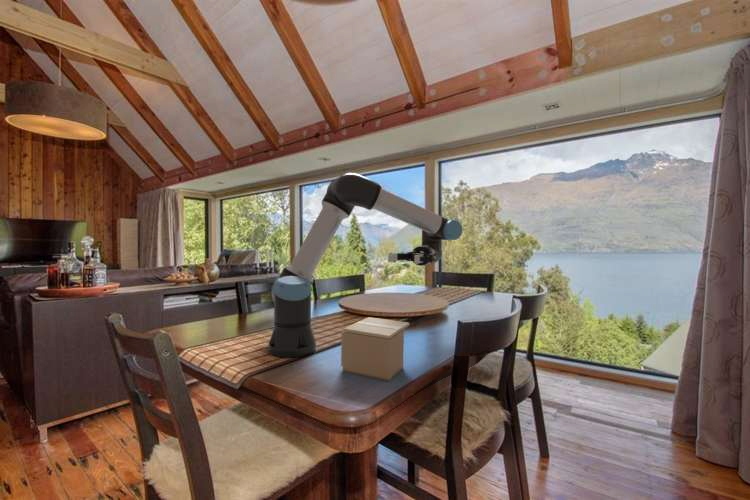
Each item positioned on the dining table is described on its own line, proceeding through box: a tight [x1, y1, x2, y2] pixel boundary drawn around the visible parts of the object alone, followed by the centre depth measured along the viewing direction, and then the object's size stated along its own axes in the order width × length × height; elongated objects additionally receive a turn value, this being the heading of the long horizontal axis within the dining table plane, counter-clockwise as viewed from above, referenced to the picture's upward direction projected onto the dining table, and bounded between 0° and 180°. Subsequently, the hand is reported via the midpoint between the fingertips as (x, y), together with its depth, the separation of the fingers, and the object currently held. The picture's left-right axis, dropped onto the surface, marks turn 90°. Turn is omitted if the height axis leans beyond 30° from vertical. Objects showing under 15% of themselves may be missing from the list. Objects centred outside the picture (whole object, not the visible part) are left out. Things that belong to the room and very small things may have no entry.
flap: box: [343, 316, 410, 339], centre depth 98 cm, size 14×15×1 cm
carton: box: [340, 329, 405, 382], centre depth 96 cm, size 15×10×11 cm
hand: (402, 258), depth 113 cm, fingers open, 9 cm apart
